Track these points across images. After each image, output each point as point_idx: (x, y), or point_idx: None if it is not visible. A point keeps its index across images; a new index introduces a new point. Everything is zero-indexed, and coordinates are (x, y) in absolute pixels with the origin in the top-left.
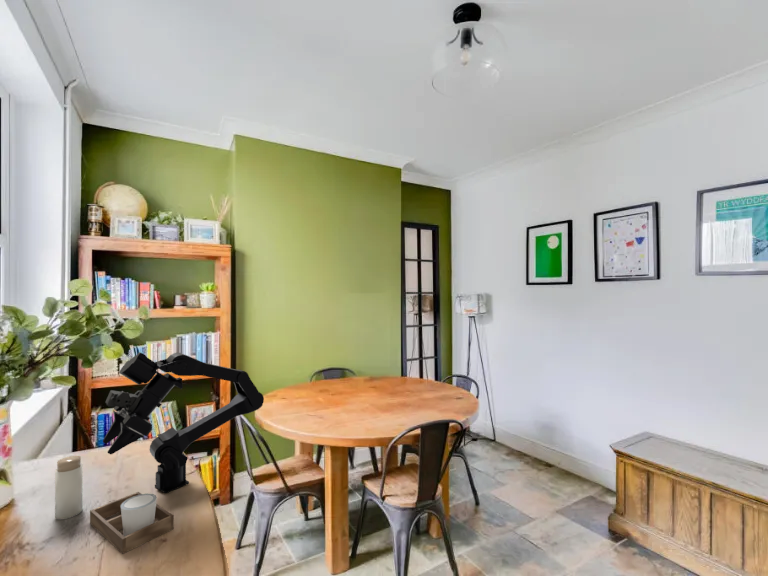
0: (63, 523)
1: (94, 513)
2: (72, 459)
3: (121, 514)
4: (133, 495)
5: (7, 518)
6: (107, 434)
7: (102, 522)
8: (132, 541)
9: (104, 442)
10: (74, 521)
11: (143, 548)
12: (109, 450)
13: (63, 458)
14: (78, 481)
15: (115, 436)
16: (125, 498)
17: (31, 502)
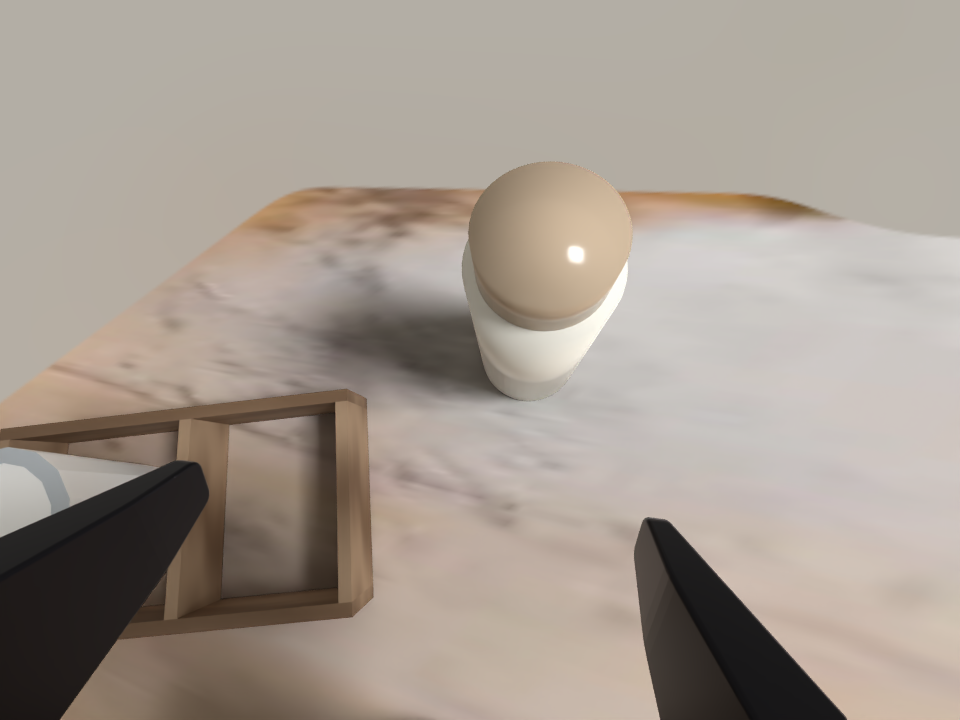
0: (452, 329)
1: (301, 397)
2: (528, 249)
3: (72, 456)
4: (341, 583)
5: (661, 194)
6: (686, 602)
7: (202, 406)
8: None
9: (642, 533)
10: (435, 360)
11: None
12: (145, 475)
13: (616, 202)
14: (482, 340)
15: (665, 709)
16: (338, 541)
17: (762, 262)
